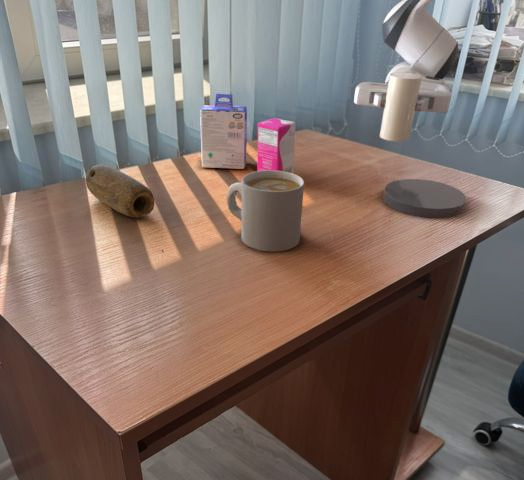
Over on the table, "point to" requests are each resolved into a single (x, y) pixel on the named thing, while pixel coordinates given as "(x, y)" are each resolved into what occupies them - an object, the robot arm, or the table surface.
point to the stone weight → (119, 191)
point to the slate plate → (424, 198)
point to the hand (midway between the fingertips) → (400, 105)
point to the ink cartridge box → (223, 134)
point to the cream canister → (400, 106)
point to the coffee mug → (269, 209)
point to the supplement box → (276, 145)
